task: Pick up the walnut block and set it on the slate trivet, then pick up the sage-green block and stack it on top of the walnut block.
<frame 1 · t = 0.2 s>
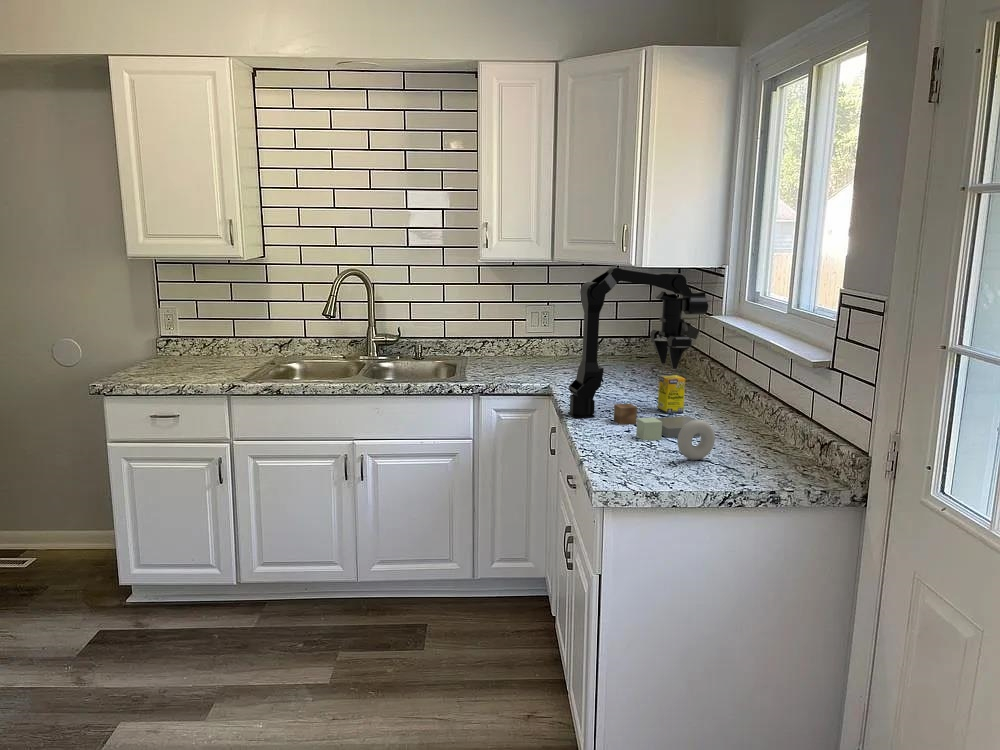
hand: (668, 366, 231), 14 cm above the worktop, tool pointing down, fingers open, 9 cm apart
donut: (695, 460, 185), on the worktop
walnut block: (625, 422, 221), on the worktop
slate trivet: (678, 430, 212), on the worktop
supplement box: (670, 412, 235), on the worktop
sage block: (648, 438, 205), on the worktop
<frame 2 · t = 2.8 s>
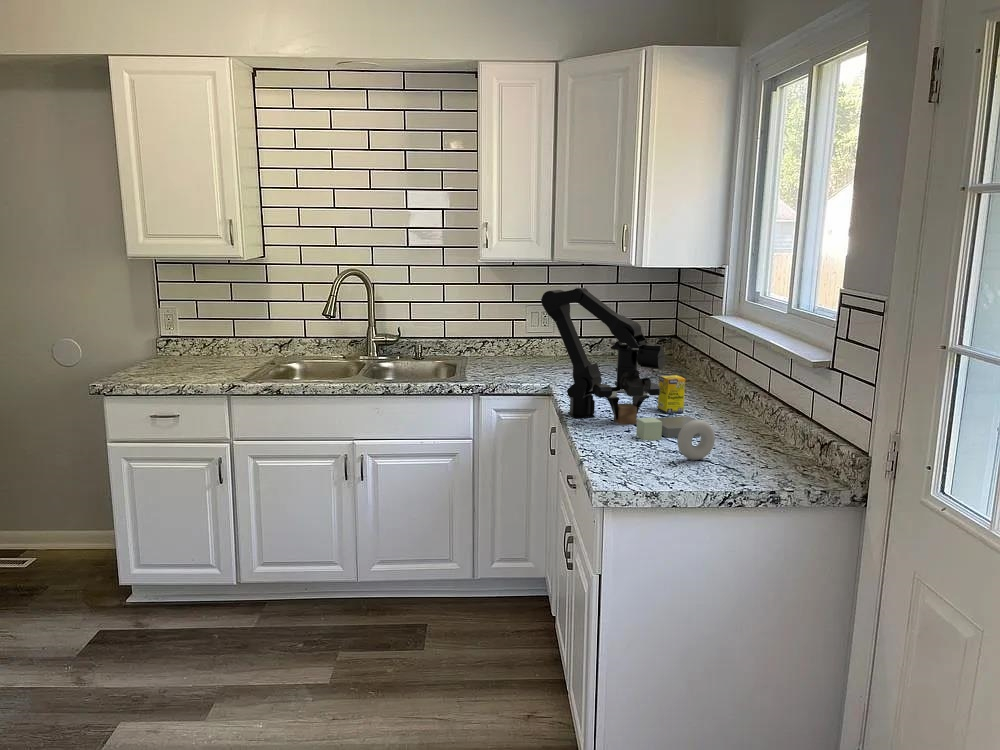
hand: (625, 418, 221), 1 cm above the worktop, tool pointing down, fingers closed on walnut block, 5 cm apart
walnut block: (625, 422, 221), on the worktop, touching gripper
everything else where it was.
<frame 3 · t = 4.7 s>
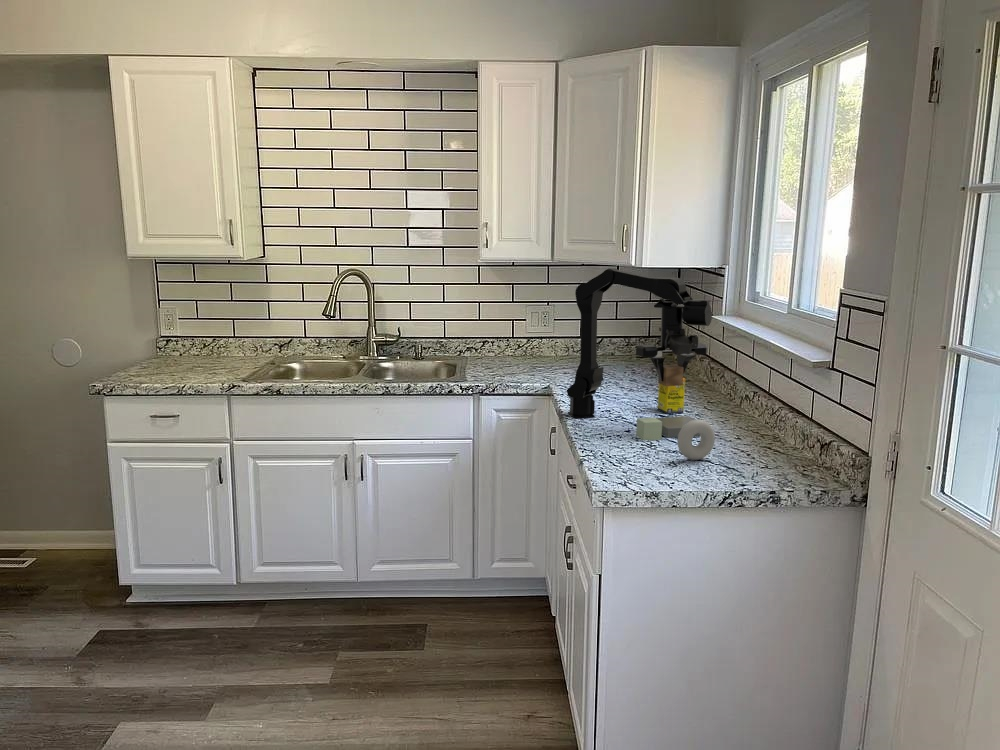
hand: (670, 380, 211), 14 cm above the worktop, tool pointing down, fingers closed on walnut block, 5 cm apart
walnut block: (670, 384, 211), point 13 cm above the worktop, touching gripper
everything else where it was.
when the fingers open (5 cm above the worktop, at t = 6.8 s): walnut block drops 1 cm, resting on slate trivet.
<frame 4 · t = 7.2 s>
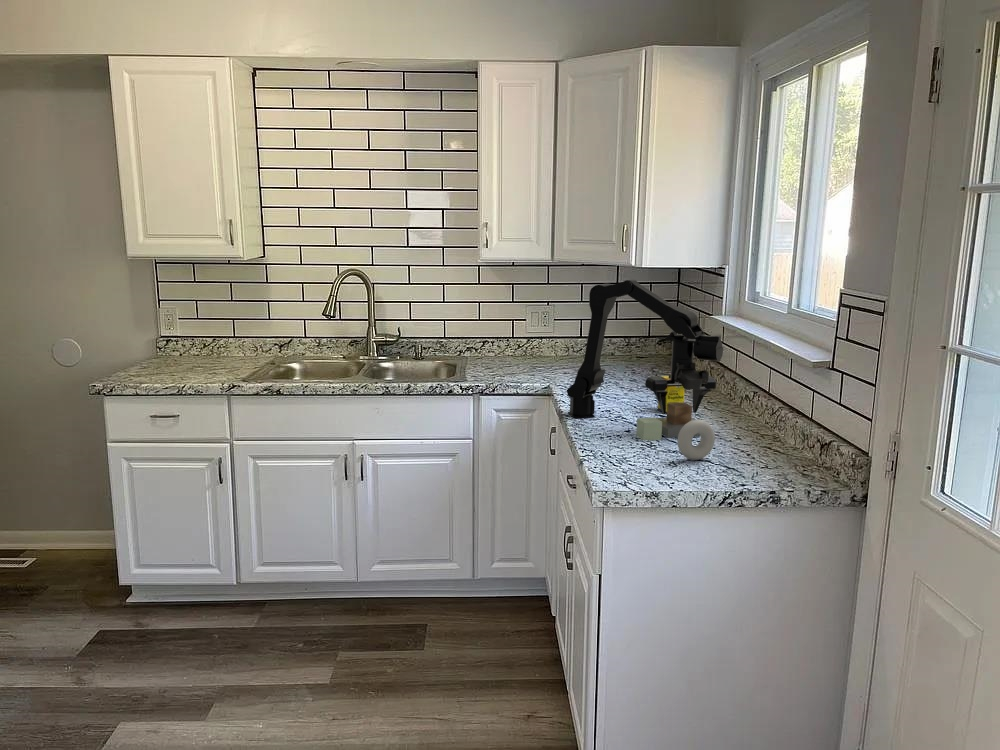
hand: (679, 413, 211), 5 cm above the worktop, tool pointing down, fingers open, 9 cm apart
walnut block: (678, 422, 211), point 2 cm above the worktop, touching slate trivet
everything else where it was.
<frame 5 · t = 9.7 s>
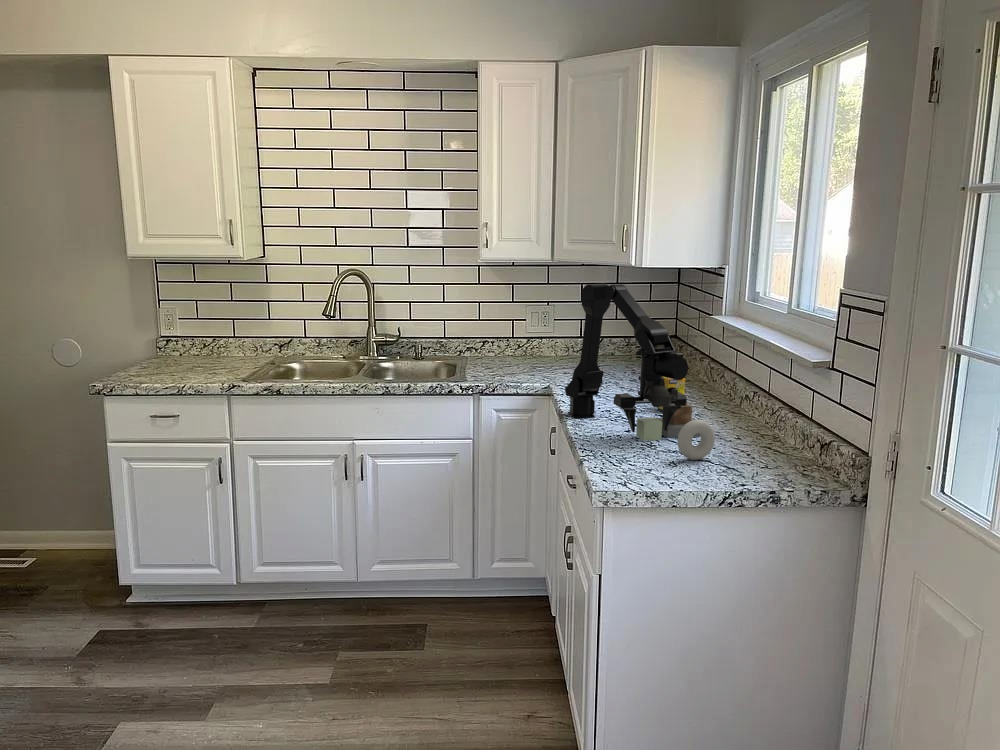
hand: (648, 431, 204), 2 cm above the worktop, tool pointing down, fingers open, 9 cm apart
nothing on the worktop moved.
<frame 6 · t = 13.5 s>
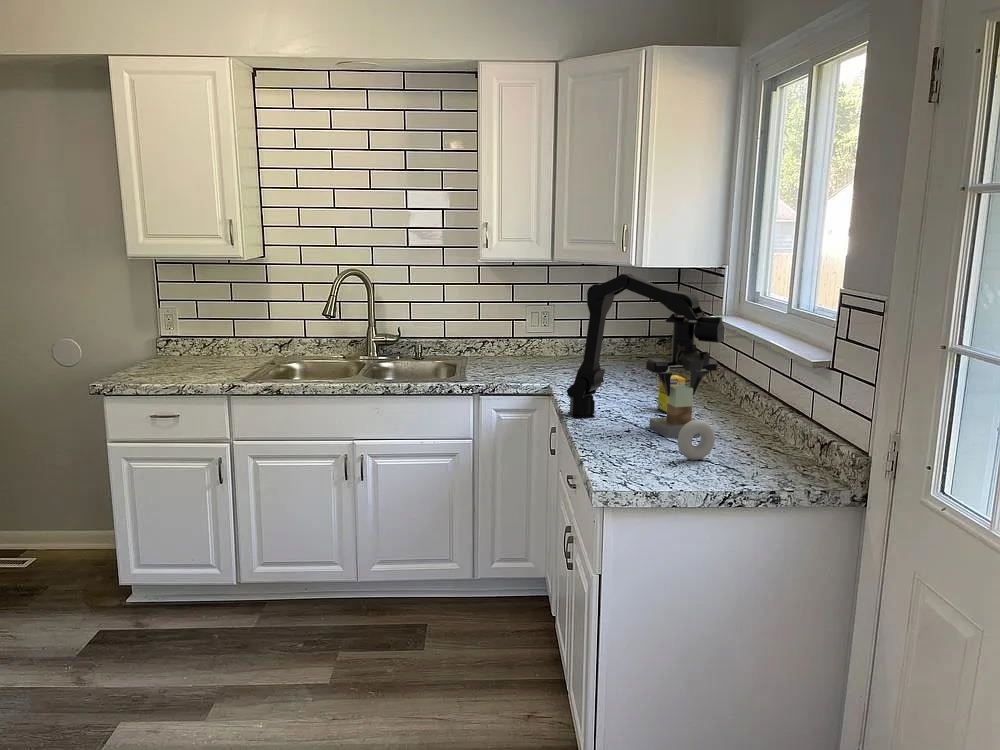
hand: (680, 395, 210), 10 cm above the worktop, tool pointing down, fingers open, 7 cm apart
walnut block: (678, 422, 211), point 2 cm above the worktop, touching sage block, slate trivet
sage block: (679, 404, 210), point 7 cm above the worktop, touching walnut block
everything else where it was.
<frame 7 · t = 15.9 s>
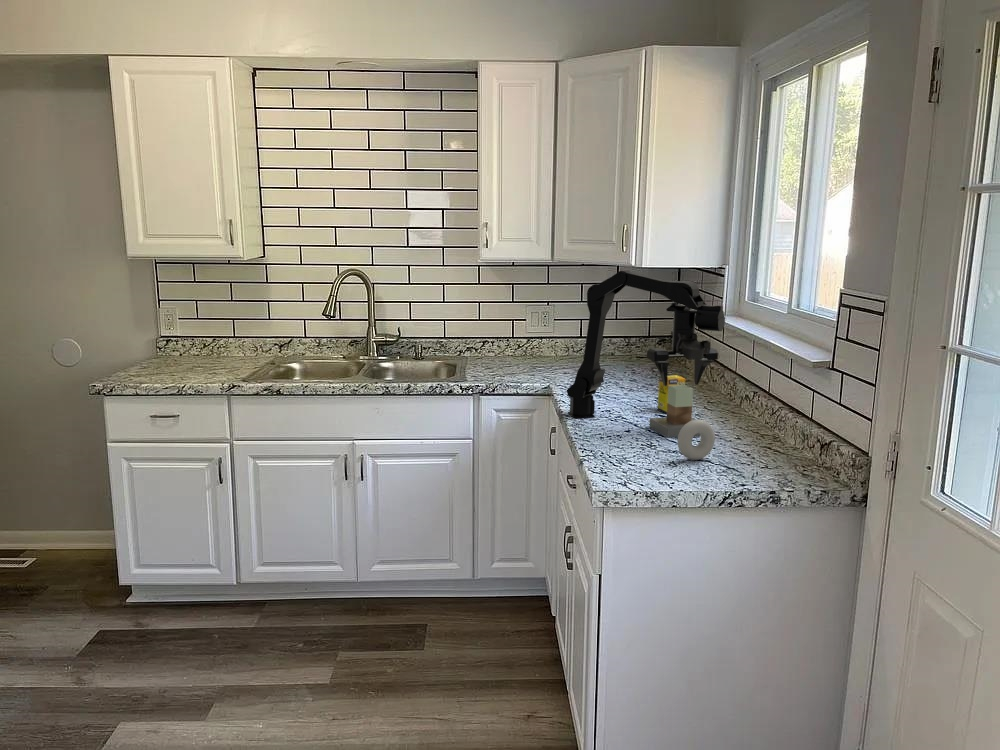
hand: (680, 385, 209), 13 cm above the worktop, tool pointing down, fingers open, 9 cm apart
nothing on the worktop moved.
at the end: walnut block inside the target area on the slate trivet (0.1 cm from its centre), point 2.5 cm above the slate trivet's base; sage block 0.0 cm off-centre on the walnut block, point 5.0 cm above the walnut block's base; sage block tilted 0° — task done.
